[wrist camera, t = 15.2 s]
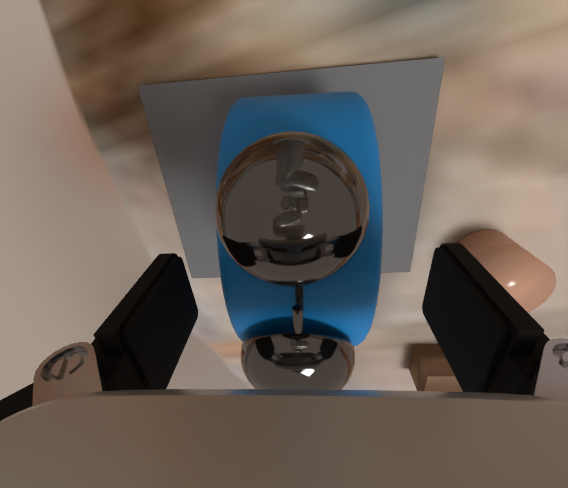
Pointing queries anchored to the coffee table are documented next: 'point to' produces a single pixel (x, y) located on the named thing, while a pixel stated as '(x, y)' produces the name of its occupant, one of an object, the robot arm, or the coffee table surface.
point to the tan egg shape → (512, 267)
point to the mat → (226, 91)
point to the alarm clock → (299, 235)
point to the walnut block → (432, 369)
